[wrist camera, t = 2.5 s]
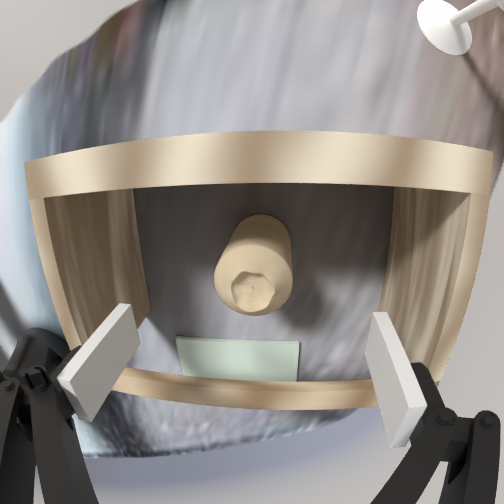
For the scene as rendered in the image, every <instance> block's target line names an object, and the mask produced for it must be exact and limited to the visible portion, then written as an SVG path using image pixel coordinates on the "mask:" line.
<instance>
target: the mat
mask: <svg viewBox="0 0 504 504" xmlns="http://www.w3.org/2000/svg"><path fill="white" fill-rule="evenodd" d="M175 340H176V345H177V350H178V355H179V359H180V364H181V369H182V373H183V375H185V376H195V377H205V378H217V379H231V380H249V381H277V382H296V380H297V368H298V355H299V341H253V340H229V339H211V338H196V337H183V336H176V338H175Z"/></svg>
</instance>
